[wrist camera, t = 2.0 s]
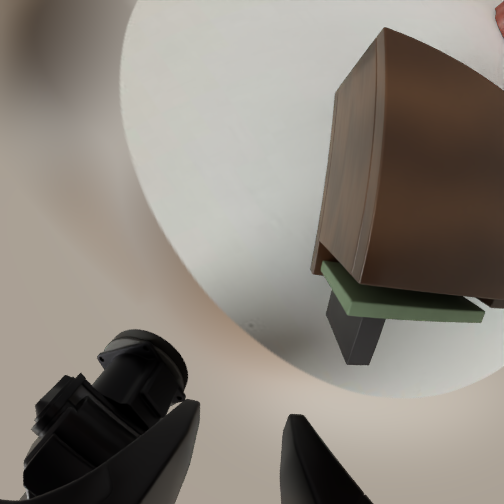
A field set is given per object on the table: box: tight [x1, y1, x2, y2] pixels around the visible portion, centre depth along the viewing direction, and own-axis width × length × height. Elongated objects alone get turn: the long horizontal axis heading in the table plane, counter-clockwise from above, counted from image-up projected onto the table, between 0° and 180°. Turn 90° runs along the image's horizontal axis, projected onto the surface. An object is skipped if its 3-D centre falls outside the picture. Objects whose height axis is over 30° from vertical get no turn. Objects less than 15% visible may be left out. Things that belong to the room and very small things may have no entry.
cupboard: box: [310, 27, 504, 308], centre depth 12 cm, size 12×18×9 cm
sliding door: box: [321, 261, 485, 365], centre depth 14 cm, size 3×9×6 cm, turn 83°
